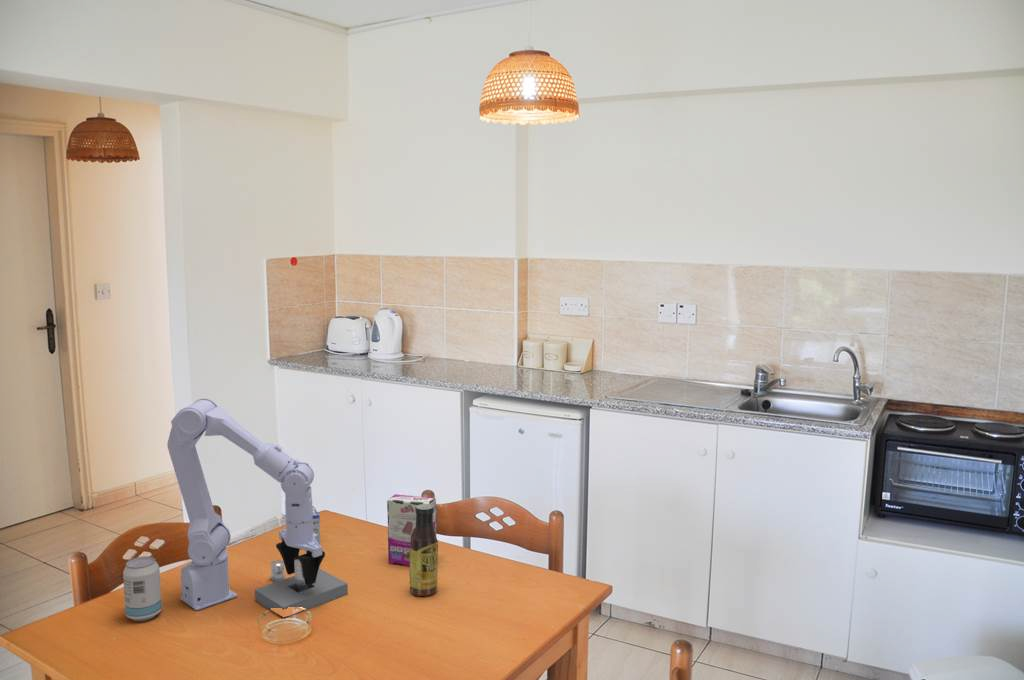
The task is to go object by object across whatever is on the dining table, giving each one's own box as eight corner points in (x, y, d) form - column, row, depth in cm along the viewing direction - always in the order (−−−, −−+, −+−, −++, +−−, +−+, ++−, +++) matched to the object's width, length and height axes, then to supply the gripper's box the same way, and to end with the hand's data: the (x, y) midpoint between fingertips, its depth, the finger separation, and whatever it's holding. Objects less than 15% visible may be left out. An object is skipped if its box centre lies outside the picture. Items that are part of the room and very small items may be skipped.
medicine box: (297, 538, 211) (296, 507, 210) (314, 536, 213) (313, 504, 212) (303, 549, 204) (302, 517, 203) (321, 546, 206) (320, 514, 205)
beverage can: (169, 610, 172) (166, 557, 170) (146, 625, 165) (143, 570, 163) (142, 606, 173) (138, 553, 172) (118, 621, 167) (114, 566, 165)
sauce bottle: (424, 600, 177) (423, 514, 174) (403, 592, 181) (402, 507, 178) (444, 589, 182) (443, 505, 179) (424, 582, 186) (423, 500, 183)
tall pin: (300, 601, 176) (299, 562, 175) (292, 597, 178) (291, 558, 177) (312, 596, 178) (310, 558, 177) (304, 592, 180) (303, 554, 179)
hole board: (283, 618, 168) (283, 607, 168) (255, 600, 176) (254, 589, 176) (347, 594, 180) (347, 583, 179) (318, 577, 188) (317, 567, 188)
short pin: (275, 583, 185) (274, 566, 184) (268, 579, 187) (268, 563, 186) (287, 579, 187) (286, 562, 187) (280, 575, 189) (279, 559, 189)
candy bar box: (437, 561, 197) (437, 497, 195) (429, 569, 193) (429, 504, 190) (396, 555, 201) (395, 492, 198) (387, 563, 196) (386, 499, 194)
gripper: (333, 523, 173) (335, 582, 175) (297, 506, 183) (299, 563, 185) (304, 531, 168) (306, 593, 170) (269, 514, 178) (272, 572, 180)
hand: (301, 578), depth 177 cm, fingers open, 7 cm apart
